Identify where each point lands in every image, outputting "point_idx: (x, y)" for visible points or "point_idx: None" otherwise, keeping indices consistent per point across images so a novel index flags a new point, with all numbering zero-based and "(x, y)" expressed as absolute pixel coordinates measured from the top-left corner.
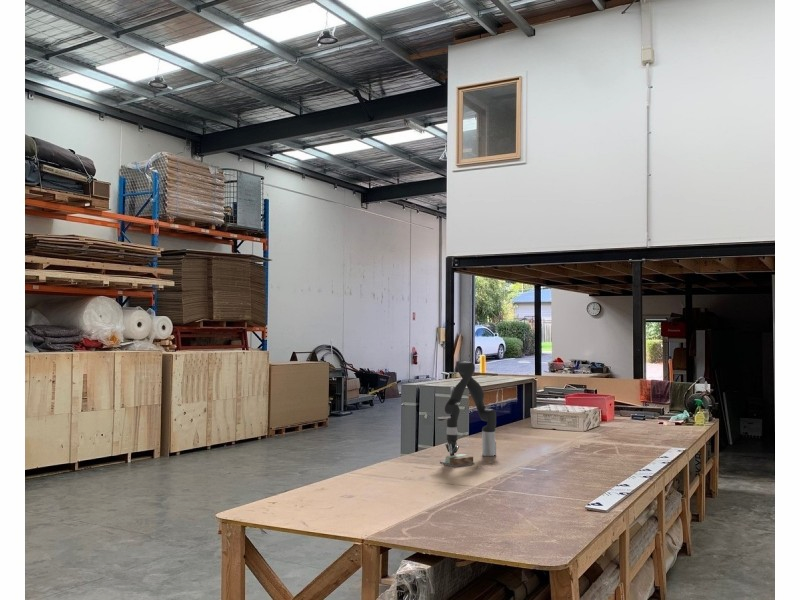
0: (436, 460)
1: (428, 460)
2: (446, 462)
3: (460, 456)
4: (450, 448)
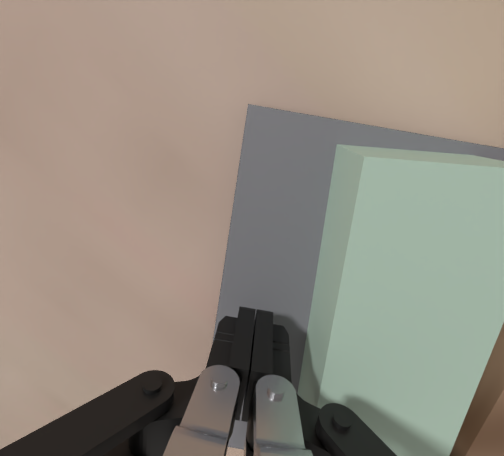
0: (54, 347)
1: (14, 399)
2: None
3: (497, 407)
4: (106, 447)
